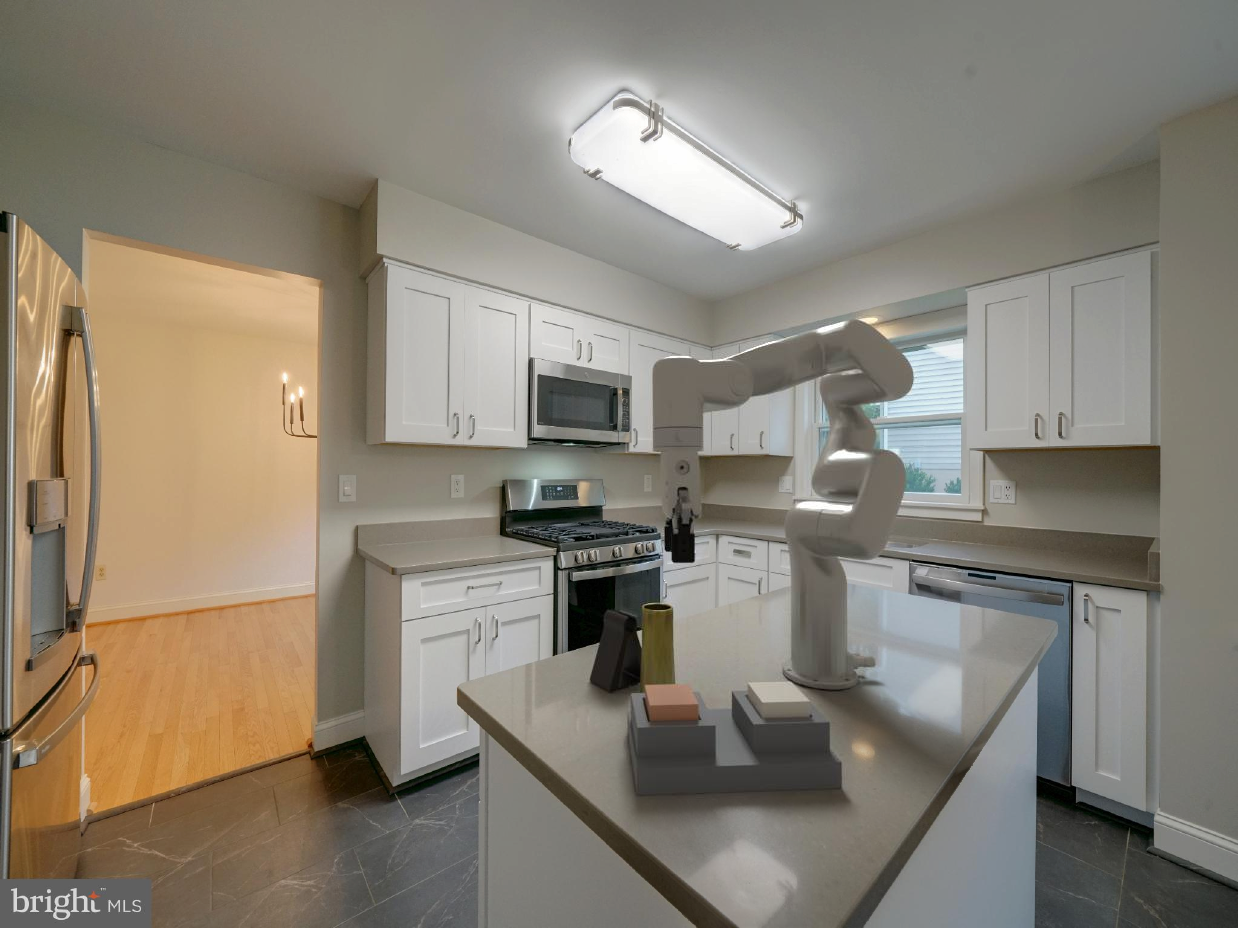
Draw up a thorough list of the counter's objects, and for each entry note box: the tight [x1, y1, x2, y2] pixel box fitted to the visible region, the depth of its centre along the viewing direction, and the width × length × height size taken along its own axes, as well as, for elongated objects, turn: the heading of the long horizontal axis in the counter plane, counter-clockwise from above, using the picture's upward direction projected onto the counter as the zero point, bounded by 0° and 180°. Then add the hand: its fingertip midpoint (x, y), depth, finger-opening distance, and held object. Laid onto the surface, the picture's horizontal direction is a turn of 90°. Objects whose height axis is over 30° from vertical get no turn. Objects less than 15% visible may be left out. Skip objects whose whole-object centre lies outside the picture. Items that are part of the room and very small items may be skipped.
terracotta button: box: [645, 683, 699, 722], centre depth 65 cm, size 6×6×3 cm
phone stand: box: [589, 608, 642, 694], centre depth 90 cm, size 9×6×12 cm, turn 127°
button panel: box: [627, 690, 843, 796], centre depth 66 cm, size 24×14×6 cm, turn 93°
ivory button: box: [747, 681, 811, 718], centre depth 66 cm, size 6×6×3 cm
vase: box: [638, 602, 676, 693], centre depth 85 cm, size 6×6×14 cm
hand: (678, 556), depth 76 cm, fingers open, 9 cm apart
